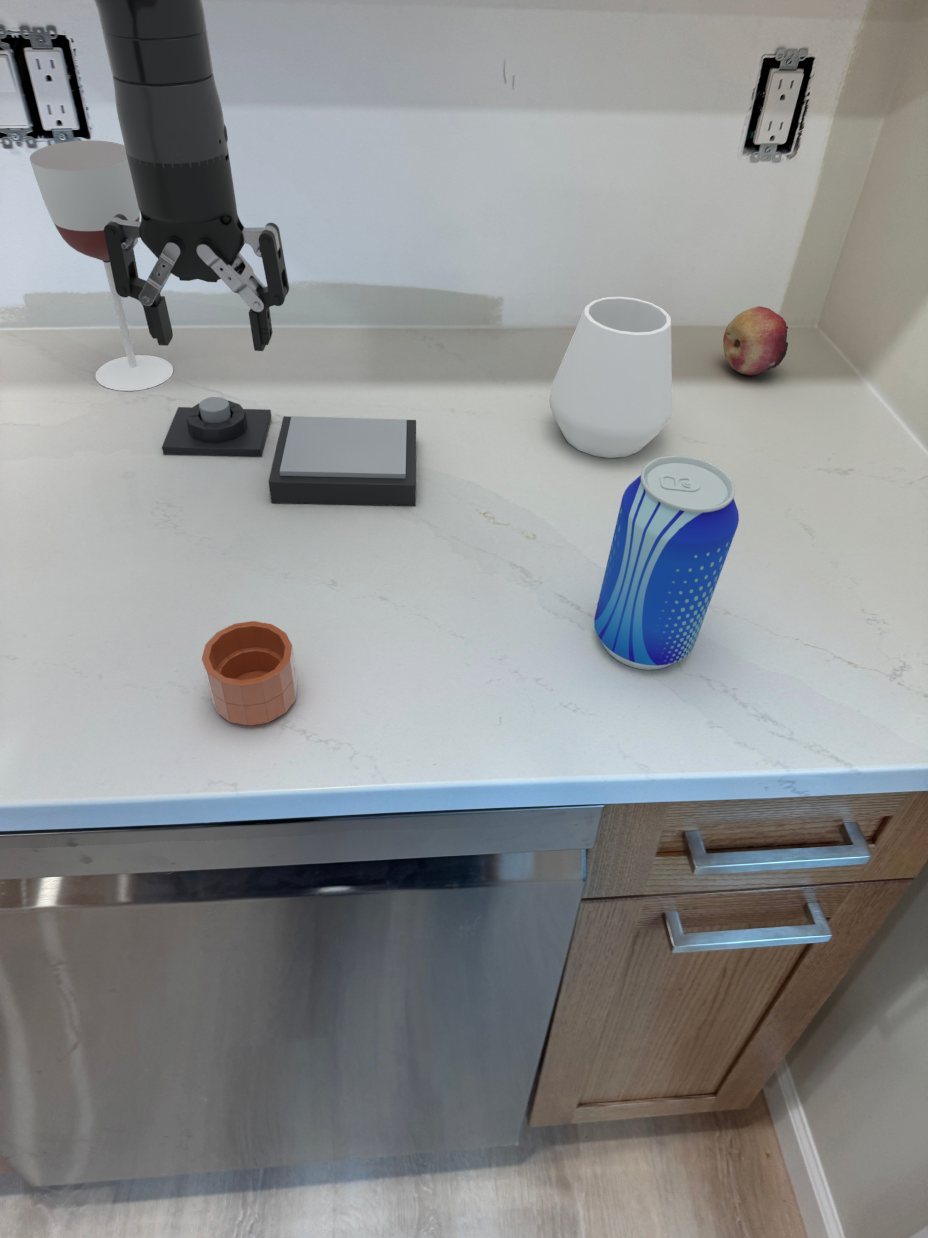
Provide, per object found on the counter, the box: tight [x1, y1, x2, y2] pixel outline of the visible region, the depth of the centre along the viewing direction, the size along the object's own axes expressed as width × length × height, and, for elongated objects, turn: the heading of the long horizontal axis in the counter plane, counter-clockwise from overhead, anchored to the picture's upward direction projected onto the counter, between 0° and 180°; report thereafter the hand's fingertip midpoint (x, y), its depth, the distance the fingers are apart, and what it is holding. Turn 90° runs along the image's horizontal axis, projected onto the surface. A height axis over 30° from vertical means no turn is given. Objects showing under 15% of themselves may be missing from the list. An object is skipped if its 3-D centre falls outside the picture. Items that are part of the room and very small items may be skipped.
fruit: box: [722, 305, 789, 376], centre depth 102 cm, size 8×8×8 cm
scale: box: [268, 415, 417, 507], centre depth 83 cm, size 14×12×3 cm
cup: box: [548, 296, 673, 459], centre depth 87 cm, size 13×13×14 cm
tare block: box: [161, 399, 272, 457], centre depth 87 cm, size 10×8×2 cm
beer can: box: [593, 455, 740, 671], centre depth 63 cm, size 8×8×16 cm
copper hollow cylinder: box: [201, 620, 298, 727], centre depth 60 cm, size 6×6×5 cm
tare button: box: [199, 396, 231, 423], centre depth 86 cm, size 3×3×2 cm
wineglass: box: [29, 139, 174, 392], centre depth 88 cm, size 9×10×23 cm
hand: (213, 344), depth 74 cm, fingers open, 8 cm apart
